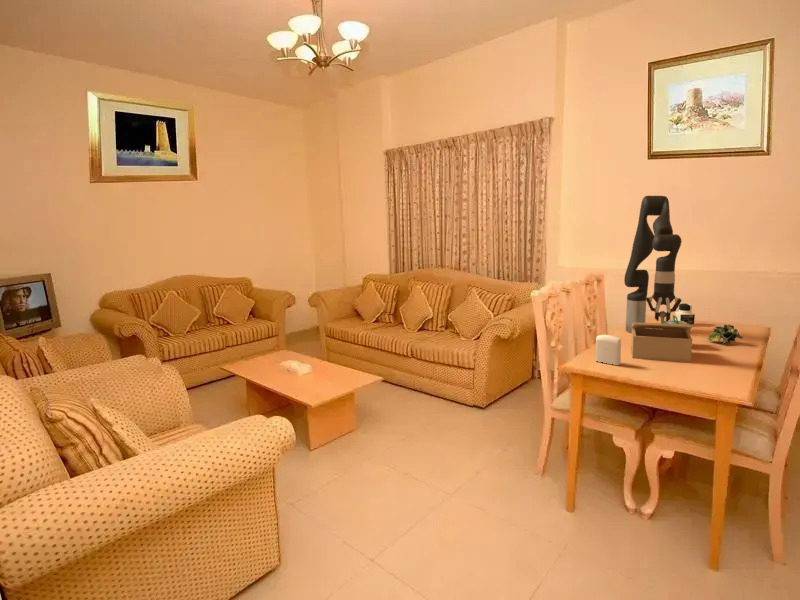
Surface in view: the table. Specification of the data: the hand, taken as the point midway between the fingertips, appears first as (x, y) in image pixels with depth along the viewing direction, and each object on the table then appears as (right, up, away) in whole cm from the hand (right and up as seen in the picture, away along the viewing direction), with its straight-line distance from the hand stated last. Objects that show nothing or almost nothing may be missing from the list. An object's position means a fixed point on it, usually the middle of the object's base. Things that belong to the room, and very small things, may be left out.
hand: (662, 320), depth 197 cm
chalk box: (+17, -13, +18) cm, 28 cm away
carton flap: (+2, -3, +5) cm, 6 cm away
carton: (+2, -16, +7) cm, 17 cm away
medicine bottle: (+44, -5, +55) cm, 70 cm away
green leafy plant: (+40, -12, +19) cm, 46 cm away
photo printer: (-24, -19, -1) cm, 30 cm away
